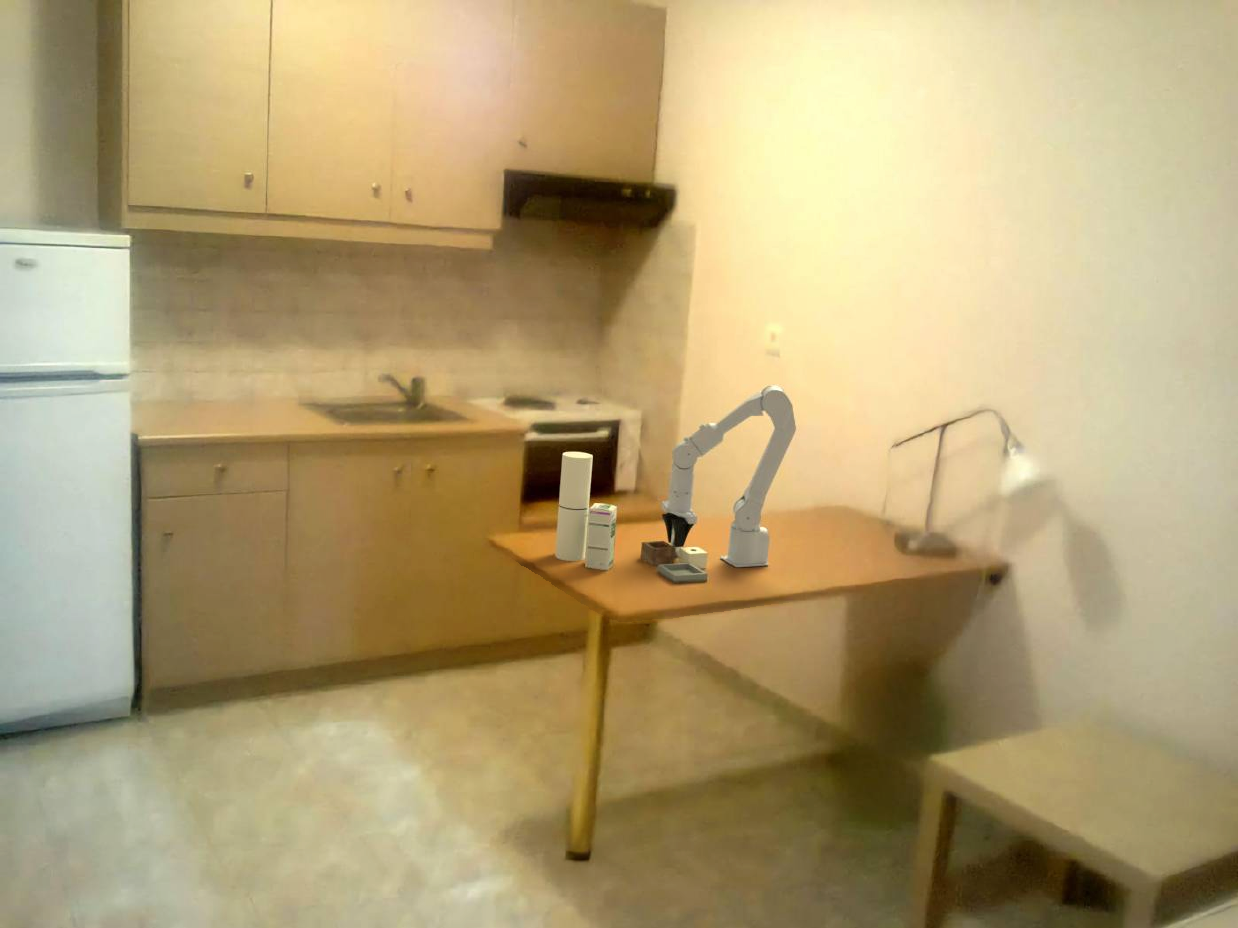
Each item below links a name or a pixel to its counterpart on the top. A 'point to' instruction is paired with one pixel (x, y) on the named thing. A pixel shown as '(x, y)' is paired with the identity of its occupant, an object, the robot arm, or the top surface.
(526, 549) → the top surface
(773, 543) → the top surface
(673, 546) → the cylinder
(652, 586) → the top surface
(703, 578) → the tray
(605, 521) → the syrup box
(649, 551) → the hollow square frame
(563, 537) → the cylindrical container
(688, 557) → the small block
